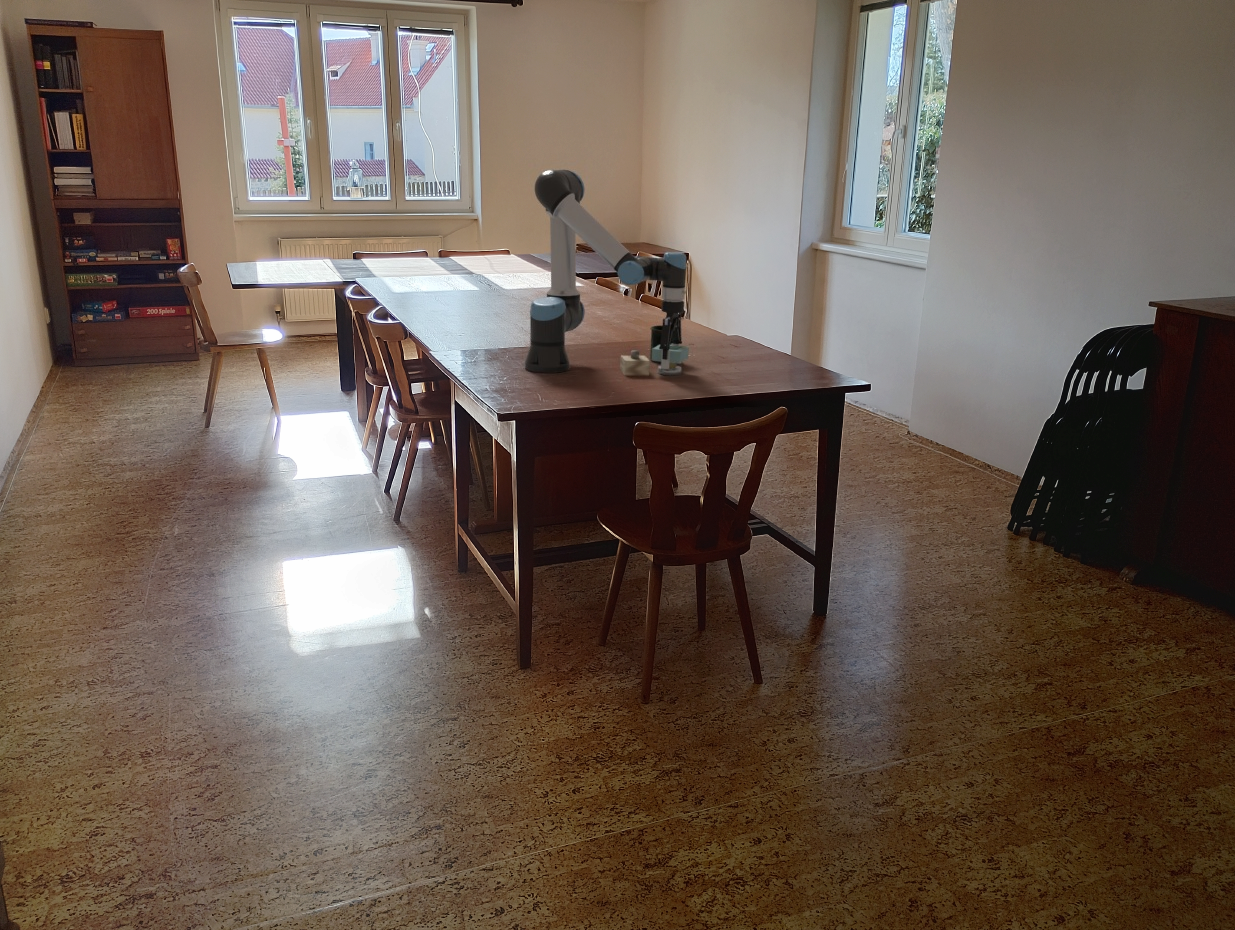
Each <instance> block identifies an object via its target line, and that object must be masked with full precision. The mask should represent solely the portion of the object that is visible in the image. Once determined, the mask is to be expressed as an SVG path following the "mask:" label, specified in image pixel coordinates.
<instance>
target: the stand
mask: <svg viewBox="0 0 1235 930" xmlns="http://www.w3.org/2000/svg"><path fill="white" fill-rule="evenodd" d="M619 360H620V362H619V363H620V366H619V370H620V371H621V373H622V374H623V375H624V376H650V363H651V359H650V358H647V356H646V355H640V350H638V349H635V350H631V351H630V355H620V359H619Z"/></svg>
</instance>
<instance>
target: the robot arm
mask: <svg viewBox="0 0 1235 930" xmlns="http://www.w3.org/2000/svg"><path fill="white" fill-rule="evenodd" d="M584 184H585V183H584V181H583V179H582V177H581V176H579V174H577V173H576V172H574V171H572V170H569V169H548V170H545V171H543V172H542V173H540V175H538V177H537V178H536V180H535V182H534V195H535V197H536V199H537V201H538V202H539V203H540V205H541V206H542V207H543V208H544V209H545V213H546V214H547V215H548V216H549V220H550V221H549V225H550V226H549V229H550V233H549V236H550V238H549V239H550V289H549V290H548V291H547V292H546V296H545V297H540V298H535V299H534V300H533V301H532V302H531V303H530V310H529V316H530V317H529V318H530V322H529V323H530V324H529V325H530V326H529V327H530V330H529V331H530V337H529V339H530V341H529V342H530V345H529V349H528V352H527V355H526V357H525V358H526V359H525V361H524V369H526V370H527V371H529V372H533V373H543V374H551V373H552V374H554V373H555V374H556V373H564V372H566V371H569V370H570V359H569V356H568V353H567V349H566V347H565V344H566V340H565V339H566V334H565V333H568V332H571V331H574V330H575V329H576V328H578V327H579V326H580V325H581V324H582V323H583V321H584V318H585V314H586V310H585V306H584V304H583V302H582V301H581V292H580V291H579V289H577V284H576V283H577V281H576V280H577V275H576V274H577V272H576V269H577V268H576V265H577V263H576V261H577V259H576V257H577V255H576V252H577V251H576V246H577V245H576V237H577V236H578V237H580V239H581V240H582V241H583V242H585V244H586V245H588V246H589V247H590V248H591V249H592V250H593V251H594V252H595V253H596V254H597V255H598V256H599V257H600V258H601V259H603V261H605V262H606V263H607V264H608V265H609V266H610V267H611V269H613V270H614V271H615V273H617V278H618V279H619V281H620V282H621V283H622V284H624V285H626V286H636V285H638V284H640V283H643V282H645V281H654V282H656V281H658V282H662V290H661V299H662V301H661V308H660V309H661V311H662V312H663V313H666V316H665V317H664V318H662V325H663V327H662V334H661V342H660V347H659V349H662V357H661V363H660V365H661V368H662V369H669V365H670V350H669V348H670V343H671V338H672V343H674V344H671V345H678V346H680V345H682V344H683V341H682V313H684V311H685V301H684V300H685V295H686V294H687V291H686V290H685V289H686V279H687V277H686V275H687V256H686V254H685V253H683V252H677V251H675V252H673V251H668V252H664V254H663V257H649V256H642V255H637V256H635V255H633V253H631V251H630V250H628V249H627V248H626V247H625V246H624V245H623V244H622V243H621V242H620V241H619V240H618V239H617V238H616V237H615V236H614V235H612V234H611V232H609V231H608V229H606V228H605V226H604V225H602V224H601V223H600V222H599V221H598V220H597V219H596V218H595V217H594V216H593V215H592V214H591V213H590V212H589V211H587V209H585V207H584V206H582V205H581V201H582V200H583V198H584V195H585V185H584Z"/></svg>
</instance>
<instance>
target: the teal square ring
mask: <svg viewBox="0 0 1235 930" xmlns="http://www.w3.org/2000/svg"><path fill="white" fill-rule="evenodd" d="M659 347H660V345H658V346H656V347H654V348H653V349H652V361H651V362H653V361H661V357H662V349H659ZM669 350H670V363H676V364H678V365H679V364H682V363H683V362H685V361H686V360H688V359H689V354H690V353H689V352H690V346H686V345H679V346H678V345H670V348H669Z"/></svg>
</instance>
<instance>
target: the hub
mask: <svg viewBox="0 0 1235 930" xmlns="http://www.w3.org/2000/svg"><path fill="white" fill-rule="evenodd" d="M657 373H658V374H659V375H661V376H667V377H668V376H671V377H672V376H674V377H675V376H680V375H682V366H679V365H677V363H670V365H669V369H662V368H661V364H659V365H658V366H657Z"/></svg>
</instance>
